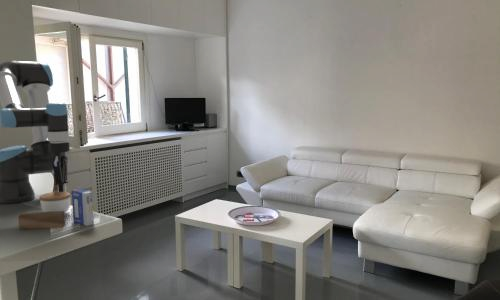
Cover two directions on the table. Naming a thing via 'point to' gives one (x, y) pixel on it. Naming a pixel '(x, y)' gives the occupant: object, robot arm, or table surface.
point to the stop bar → (41, 220)
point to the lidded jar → (55, 201)
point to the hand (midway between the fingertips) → (62, 199)
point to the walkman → (82, 207)
